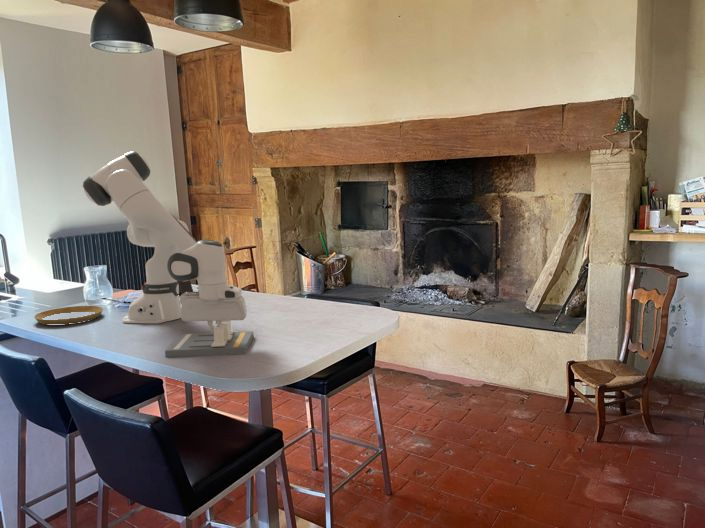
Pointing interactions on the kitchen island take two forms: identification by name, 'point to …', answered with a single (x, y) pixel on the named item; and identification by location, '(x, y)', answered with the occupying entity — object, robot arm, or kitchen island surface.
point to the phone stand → (184, 287)
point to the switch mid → (226, 331)
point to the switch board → (208, 345)
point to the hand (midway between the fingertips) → (215, 333)
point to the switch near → (218, 337)
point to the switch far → (229, 327)
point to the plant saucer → (68, 310)
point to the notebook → (122, 293)
